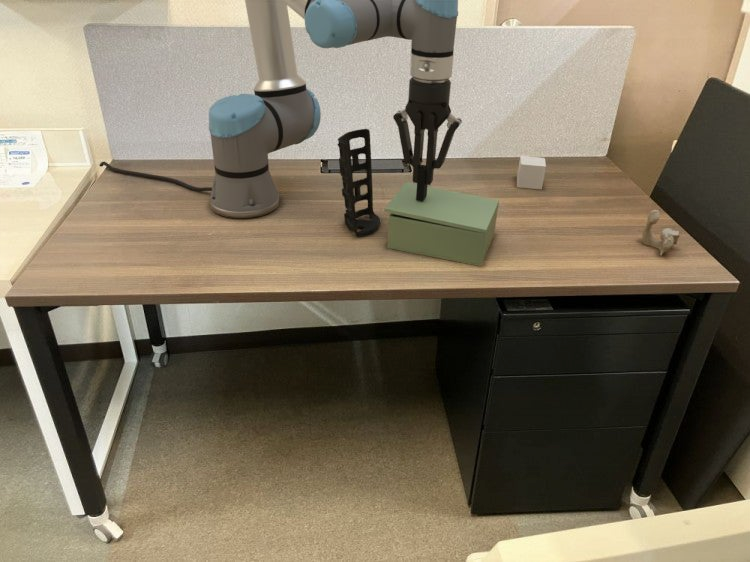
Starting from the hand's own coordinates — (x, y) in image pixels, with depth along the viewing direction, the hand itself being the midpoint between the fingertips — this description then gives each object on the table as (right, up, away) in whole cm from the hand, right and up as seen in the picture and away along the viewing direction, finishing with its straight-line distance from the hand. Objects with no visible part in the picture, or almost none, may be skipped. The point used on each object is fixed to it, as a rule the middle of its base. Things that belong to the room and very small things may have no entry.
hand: (421, 197), depth 121 cm
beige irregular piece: (+50, -10, +3) cm, 51 cm away
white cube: (+29, +8, +30) cm, 43 cm away
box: (+5, -8, +3) cm, 10 cm away
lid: (+4, -2, -1) cm, 5 cm away
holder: (-13, -5, +8) cm, 16 cm away
